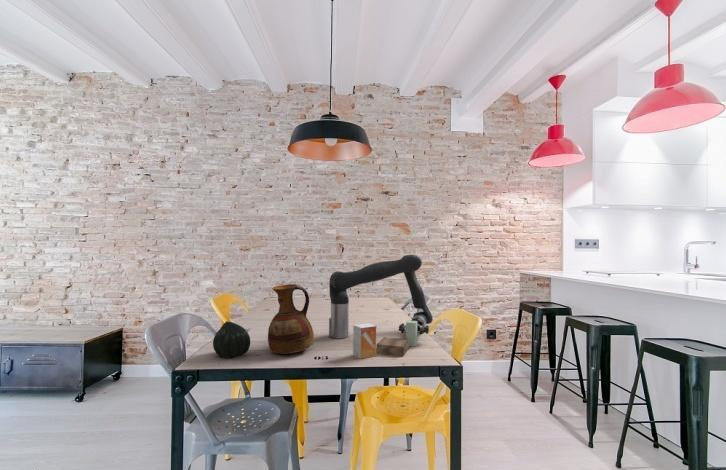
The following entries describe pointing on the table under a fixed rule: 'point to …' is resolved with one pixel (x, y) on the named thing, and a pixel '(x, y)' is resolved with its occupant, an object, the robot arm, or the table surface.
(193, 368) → the table surface
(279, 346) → the ceramic pitcher
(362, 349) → the small box
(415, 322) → the sage block
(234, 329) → the squash
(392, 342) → the walnut base block
